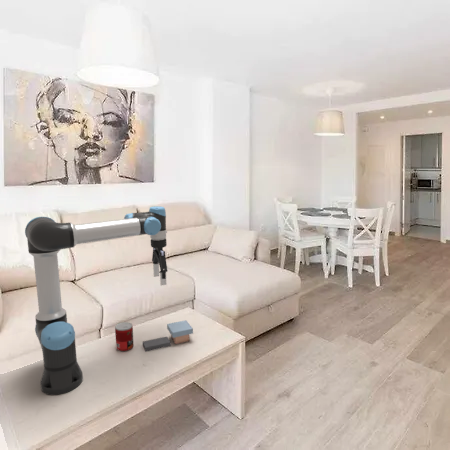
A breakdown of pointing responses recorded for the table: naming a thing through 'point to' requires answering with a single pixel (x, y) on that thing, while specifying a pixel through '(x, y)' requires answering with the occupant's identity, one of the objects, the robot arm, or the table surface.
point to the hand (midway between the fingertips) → (159, 280)
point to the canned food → (124, 336)
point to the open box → (180, 339)
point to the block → (156, 343)
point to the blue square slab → (179, 328)
